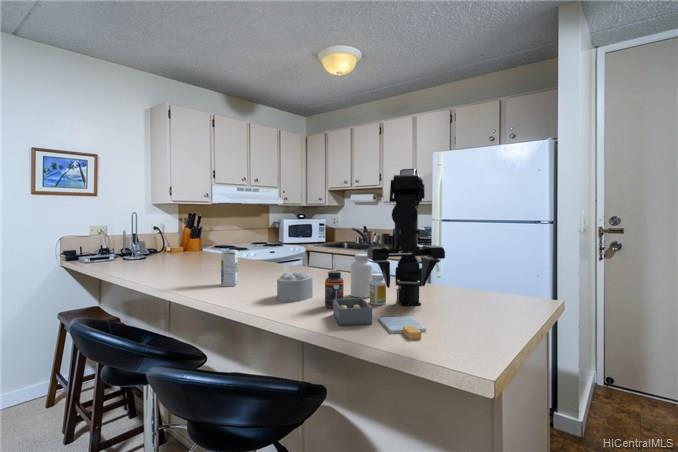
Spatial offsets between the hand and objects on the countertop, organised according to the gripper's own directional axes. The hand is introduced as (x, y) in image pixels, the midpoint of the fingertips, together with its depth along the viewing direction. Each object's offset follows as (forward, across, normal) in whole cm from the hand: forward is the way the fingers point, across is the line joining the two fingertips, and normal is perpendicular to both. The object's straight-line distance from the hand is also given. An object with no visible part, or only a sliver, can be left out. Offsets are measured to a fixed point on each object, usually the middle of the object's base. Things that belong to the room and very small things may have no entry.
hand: (405, 286), depth 90 cm
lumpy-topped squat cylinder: (+12, +26, -40) cm, 50 cm away
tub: (+12, +11, -12) cm, 21 cm away
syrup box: (+12, +52, -67) cm, 86 cm away
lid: (+12, -1, -3) cm, 12 cm away
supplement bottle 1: (+12, +14, -27) cm, 32 cm away
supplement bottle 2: (+12, -1, -28) cm, 31 cm away
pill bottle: (+12, +2, -39) cm, 41 cm away
